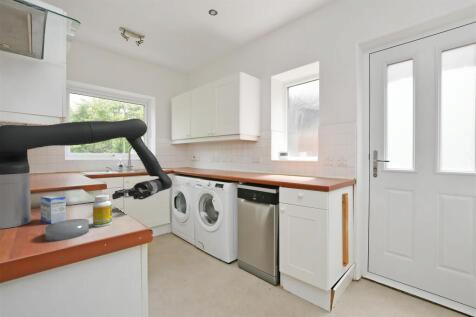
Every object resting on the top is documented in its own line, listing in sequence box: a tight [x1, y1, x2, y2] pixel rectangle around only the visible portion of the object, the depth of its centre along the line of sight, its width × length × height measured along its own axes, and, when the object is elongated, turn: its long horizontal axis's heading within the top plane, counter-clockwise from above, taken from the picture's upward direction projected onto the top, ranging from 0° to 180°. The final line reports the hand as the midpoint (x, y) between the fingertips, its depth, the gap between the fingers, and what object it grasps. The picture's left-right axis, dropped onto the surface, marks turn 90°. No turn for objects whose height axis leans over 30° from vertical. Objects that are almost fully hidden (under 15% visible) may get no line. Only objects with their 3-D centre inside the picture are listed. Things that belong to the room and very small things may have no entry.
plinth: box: [44, 218, 90, 242], centre depth 64 cm, size 10×10×3 cm
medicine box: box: [40, 195, 67, 224], centre depth 78 cm, size 8×4×9 cm, turn 62°
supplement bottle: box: [92, 194, 113, 228], centre depth 73 cm, size 5×5×10 cm
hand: (123, 196), depth 84 cm, fingers open, 8 cm apart
